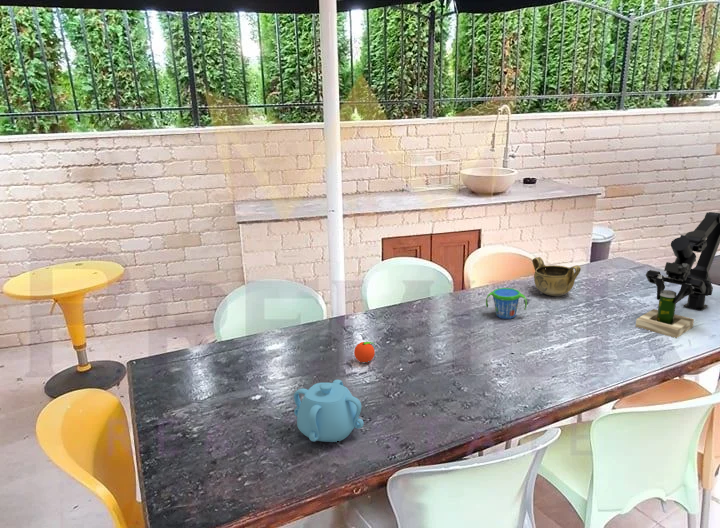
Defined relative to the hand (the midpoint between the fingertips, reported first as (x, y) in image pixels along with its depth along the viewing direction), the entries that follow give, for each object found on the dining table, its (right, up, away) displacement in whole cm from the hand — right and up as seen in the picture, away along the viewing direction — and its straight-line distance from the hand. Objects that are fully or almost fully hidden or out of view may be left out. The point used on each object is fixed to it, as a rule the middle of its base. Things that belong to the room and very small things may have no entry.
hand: (665, 301), depth 186 cm
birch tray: (+1, -10, +4) cm, 11 cm away
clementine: (-108, -20, -11) cm, 110 cm away
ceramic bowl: (-25, 0, +41) cm, 48 cm away
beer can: (+2, -9, +3) cm, 9 cm away
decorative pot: (-118, -31, -48) cm, 132 cm away
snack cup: (-52, -8, +20) cm, 56 cm away
